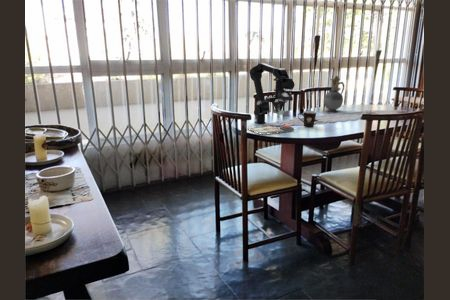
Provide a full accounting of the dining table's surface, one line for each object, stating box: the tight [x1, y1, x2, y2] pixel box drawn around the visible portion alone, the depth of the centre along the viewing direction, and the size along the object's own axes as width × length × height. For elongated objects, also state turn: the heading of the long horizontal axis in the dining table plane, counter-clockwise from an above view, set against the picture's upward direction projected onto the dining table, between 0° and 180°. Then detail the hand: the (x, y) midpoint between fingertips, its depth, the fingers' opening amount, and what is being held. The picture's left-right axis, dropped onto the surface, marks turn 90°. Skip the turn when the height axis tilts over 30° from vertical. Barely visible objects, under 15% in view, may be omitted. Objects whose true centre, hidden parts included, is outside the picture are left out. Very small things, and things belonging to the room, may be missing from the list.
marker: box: [272, 108, 285, 116], centre depth 217 cm, size 9×2×2 cm, turn 28°
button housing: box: [279, 126, 295, 132], centre depth 213 cm, size 6×6×2 cm
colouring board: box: [247, 125, 285, 134], centre depth 211 cm, size 16×18×1 cm
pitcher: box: [323, 75, 345, 113], centre depth 276 cm, size 11×19×30 cm, turn 119°
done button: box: [282, 124, 291, 129], centre depth 212 cm, size 5×5×2 cm
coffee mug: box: [297, 110, 317, 128], centre depth 224 cm, size 12×9×10 cm
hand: (278, 111), depth 217 cm, fingers closed on marker, 2 cm apart
